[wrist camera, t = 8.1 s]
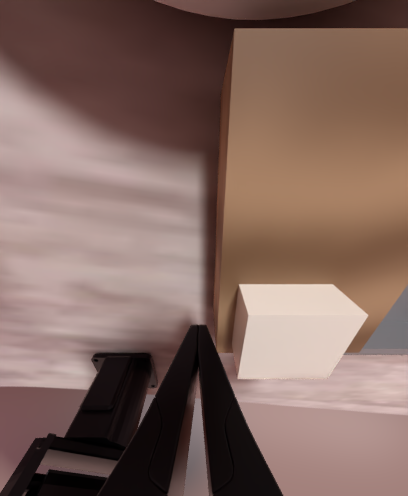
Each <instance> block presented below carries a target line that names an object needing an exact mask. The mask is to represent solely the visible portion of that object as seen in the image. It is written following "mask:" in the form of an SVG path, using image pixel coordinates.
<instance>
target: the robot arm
mask: <svg viewBox="0 0 408 496" xmlns="http://www.w3.org/2000/svg"><path fill="white" fill-rule="evenodd" d="M91 360H92V362H93V364H94V366H95V368H96V370H97V371H98V373H97V375H96V377H95V379H94V381H93V382H92V384H91V386H90V388H89V390H88V392H87V394H86V396H85V397H84V399H83V401H82V403H81V405H80V408H79V410H78V412H77V414H76V416H75V418H74V420H73V422H72V423H71V425H70V427H69V429H68V431H67V433H66V435H65V437H64V438H62V437H57V436H56V434H51V433H49V434H48V436H47V438H36V439H35V440H34V441H33V443H32V445H31V446H30V448H29V449H28V451H27V453H26V454H25V456H24V457H23V459H22V460H21V462H20V463H19V465H18V467H17V468H16V470H15V471H14V473H13V474H12V476H11V477H10V479H9V481H8V482H7V484H6V485H5V487H4V488H3V490H2V491H1V493H0V496H183V494H184V486H185V477H186V469H187V460H188V452H189V445H190V436H191V428H192V420H193V411H194V403H195V395H196V386H197V378H198V367H199V382H200V394H201V406H202V418H203V430H204V442H205V454H206V465H207V478H208V489H209V496H283V494H282V492H281V490H280V489H279V486H278V484H277V482H276V481H275V479H274V477H273V475H272V473H271V471H270V469H269V467H268V465H267V463H266V461H265V459H264V457H263V455H262V453H261V451H260V449H259V447H258V445H257V443H256V441H255V439H254V437H253V435H252V433H251V431H250V429H249V427H248V425H247V423H246V420H245V418H244V416H243V413H242V411H241V409H240V407H239V404H238V401H237V399H236V397H235V394H234V392H233V389H232V387H231V384H230V382H229V380H228V377H227V375H226V372H225V370H224V367H223V365H222V362H221V360H220V357H219V355H218V352H217V350H216V347H215V345H214V343H213V340H212V338H211V335H210V333H209V330H208V328H207V326H206V325H191V326H190V328H189V330H188V332H187V334H186V336H185V338H184V340H183V342H182V344H181V346H180V348H179V350H178V352H177V354H176V356H175V358H174V360H173V361H172V363H171V365H170V367H169V369H168V371H167V373H166V375H165V377H164V379H163V381H162V383H161V385H160V387H159V389H158V391H157V393H156V395H155V397H156V398H154V399H153V401H152V403H151V405H150V407H149V409H148V411H147V413H146V414H145V416H144V418H143V420H142V422H141V424H140V426H139V427H138V424H139V421H140V417H141V413H142V409H143V405H144V401H145V398H146V394H147V390H148V388H156V387H157V385H158V380H157V376H156V372H155V368H154V364H153V360H152V356H151V355H149V354H95V355H94V356H93V358H92V359H91ZM137 428H138V429H137ZM40 464H42V465H49V466H55V467H61V468H69V469H75V470H82V471H88V472H95V473H102V474H109V477H108V478H105V477H99V476H92V475H85V474H78V473H71V472H63V471H57V470H48V472H47V473H46V474H40V473H35V472H36V470H37V468H38V467H39V465H40Z"/></svg>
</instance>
